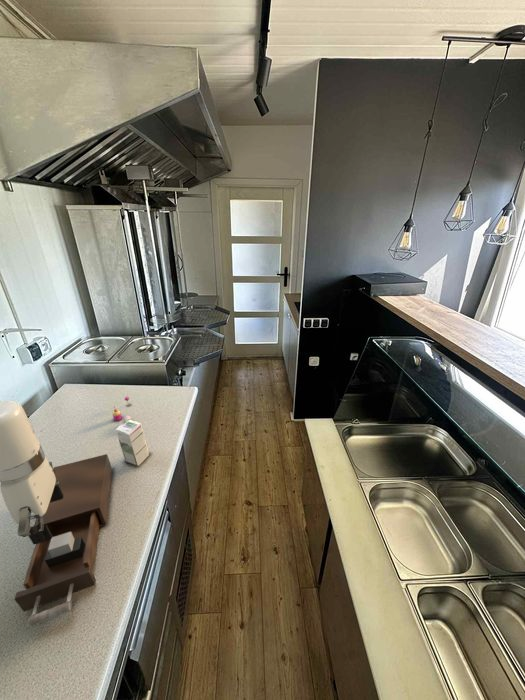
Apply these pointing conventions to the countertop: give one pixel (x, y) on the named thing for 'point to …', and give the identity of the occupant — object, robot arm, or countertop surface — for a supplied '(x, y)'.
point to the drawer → (60, 570)
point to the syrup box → (132, 442)
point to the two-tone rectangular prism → (64, 549)
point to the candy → (118, 415)
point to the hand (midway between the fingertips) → (50, 518)
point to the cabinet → (81, 490)
